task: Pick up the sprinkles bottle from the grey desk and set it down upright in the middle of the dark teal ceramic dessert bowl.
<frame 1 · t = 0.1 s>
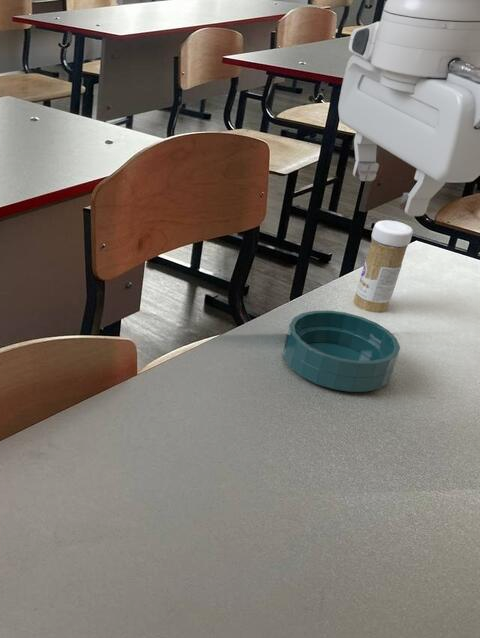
hand: (385, 195, 75), 25 cm above the table, tool pointing down, fingers open, 8 cm apart
sprinkles bottle: (366, 318, 104), on the table
dessert bowl: (334, 366, 93), on the table
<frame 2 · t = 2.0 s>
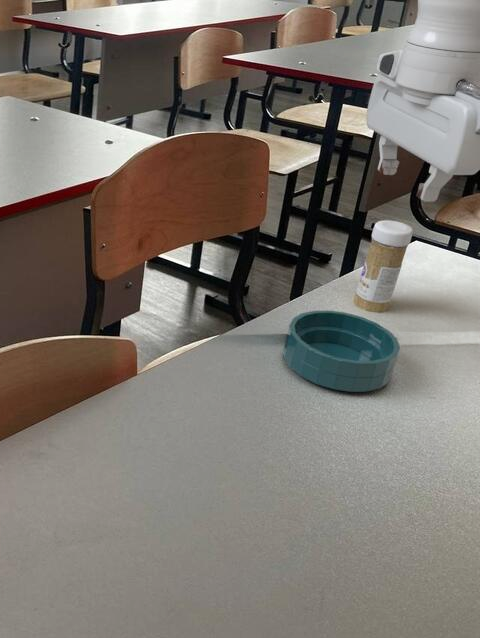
hand: (404, 185, 94), 19 cm above the table, tool pointing down, fingers open, 8 cm apart
nothing on the table moved.
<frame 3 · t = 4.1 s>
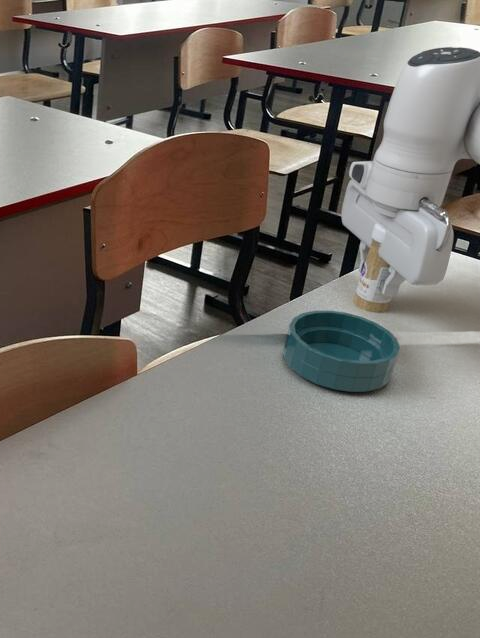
hand: (376, 284, 101), 5 cm above the table, tool pointing down, fingers closed on sprinkles bottle, 4 cm apart
sprinkles bottle: (366, 318, 104), on the table, touching gripper
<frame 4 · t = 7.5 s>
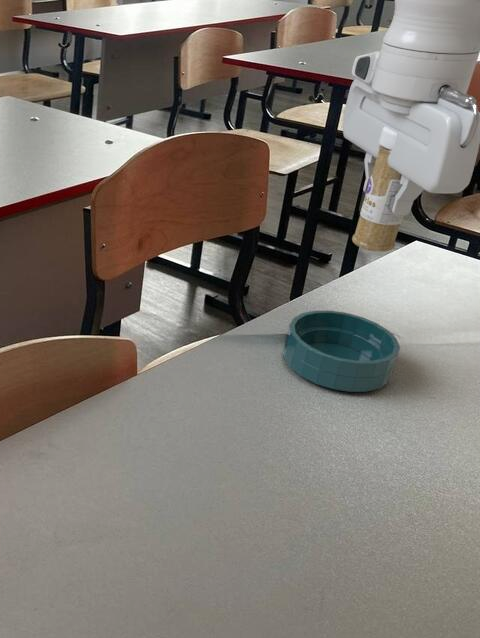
hand: (384, 203, 84), 20 cm above the table, tool pointing down, fingers closed on sprinkles bottle, 4 cm apart
sprinkles bottle: (372, 246, 87), point 15 cm above the table, touching gripper
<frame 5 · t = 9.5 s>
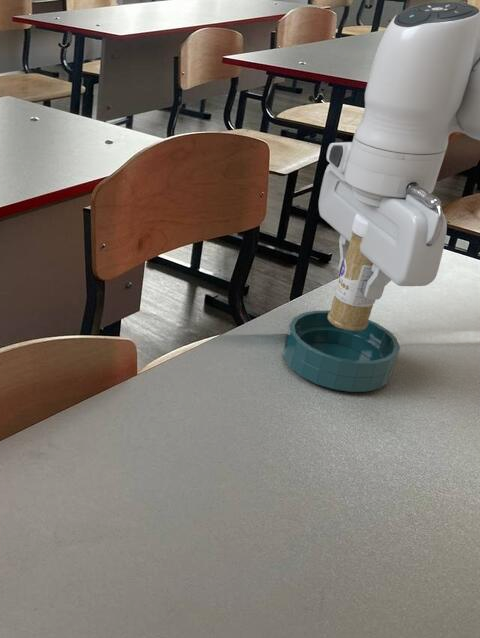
hand: (358, 284, 87), 11 cm above the table, tool pointing down, fingers closed on sprinkles bottle, 4 cm apart
sprinkles bottle: (346, 324, 90), point 6 cm above the table, touching gripper
when the fingers open (6 cm above the table, at t = 11.2 s): sprinkles bottle stays where it is, resting on dessert bowl.
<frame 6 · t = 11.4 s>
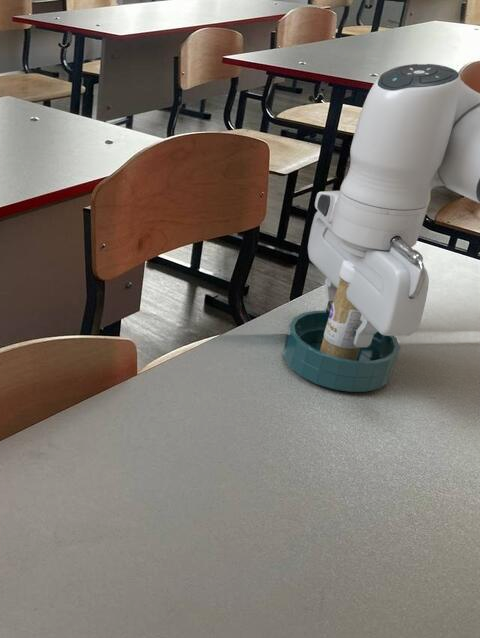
hand: (345, 328, 90), 5 cm above the table, tool pointing down, fingers open, 5 cm apart
sprinkles bottle: (335, 364, 92), resting on dessert bowl
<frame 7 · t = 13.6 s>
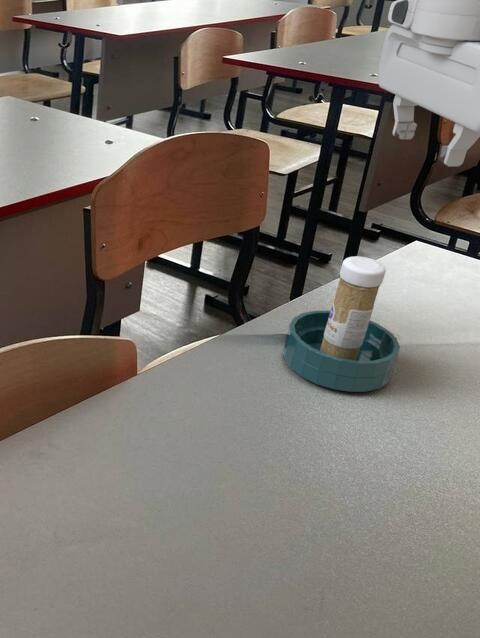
hand: (424, 150, 83), 26 cm above the table, tool pointing down, fingers open, 8 cm apart
nothing on the table moved.
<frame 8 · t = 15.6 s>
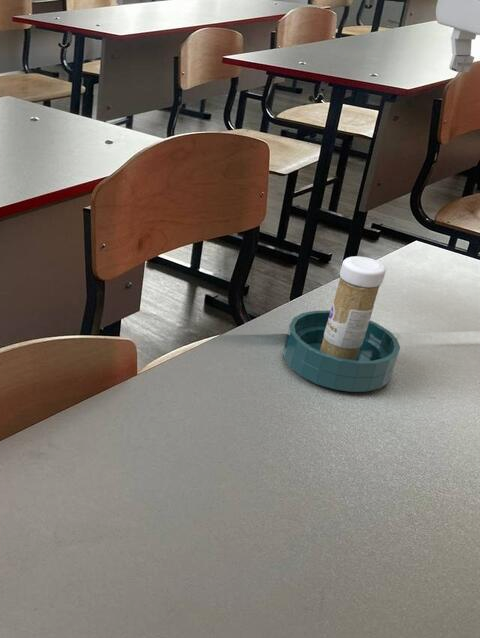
nothing on the table moved.
at the end: sprinkles bottle 0.1 cm off-centre in the dessert bowl, point 0.4 cm above the dessert bowl's base; sprinkles bottle tilted 0°; the gripper is holding nothing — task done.
